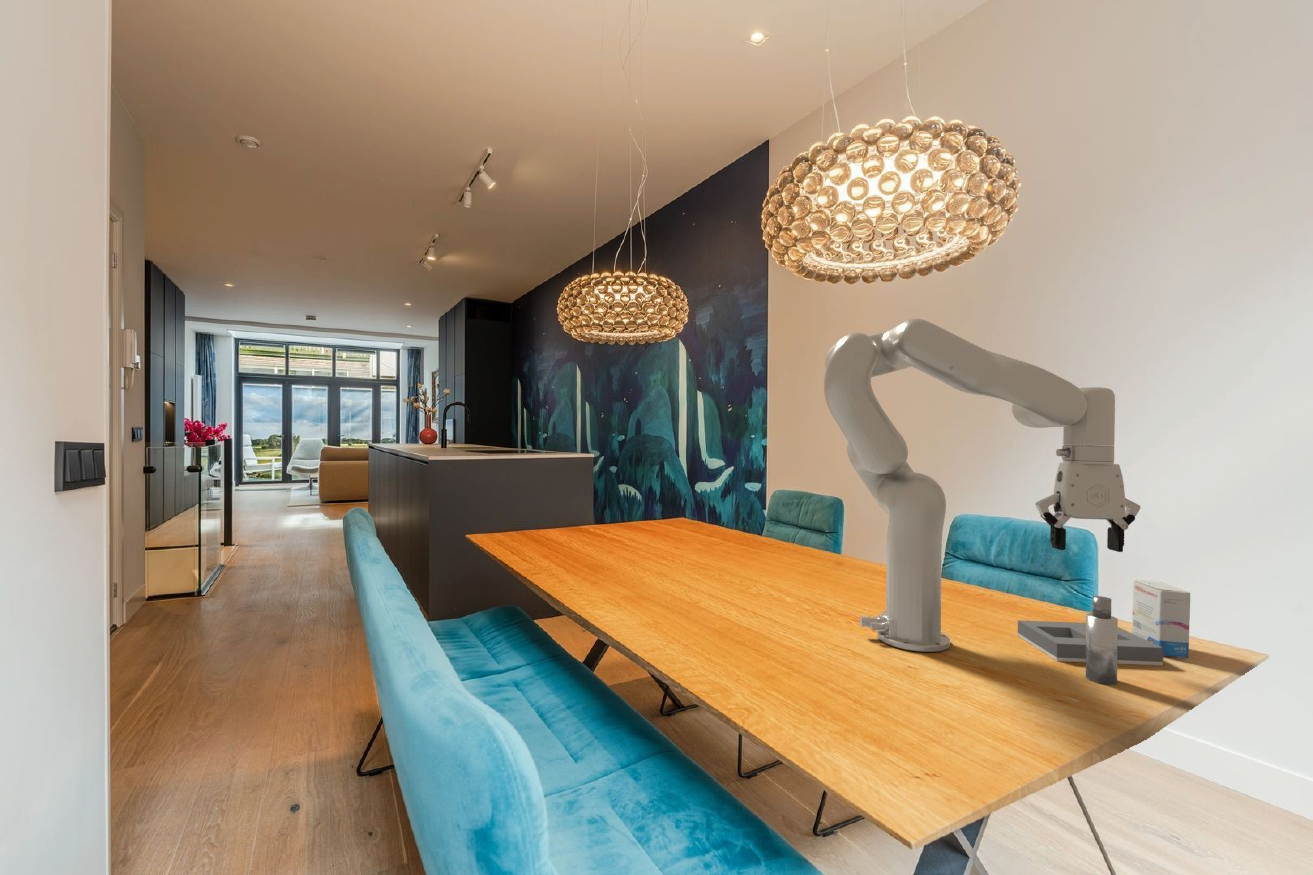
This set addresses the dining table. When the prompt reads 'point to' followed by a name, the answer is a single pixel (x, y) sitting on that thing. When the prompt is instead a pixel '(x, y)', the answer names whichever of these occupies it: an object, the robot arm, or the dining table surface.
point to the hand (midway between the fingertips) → (1086, 549)
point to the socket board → (1071, 643)
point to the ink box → (1162, 616)
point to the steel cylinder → (1101, 642)
